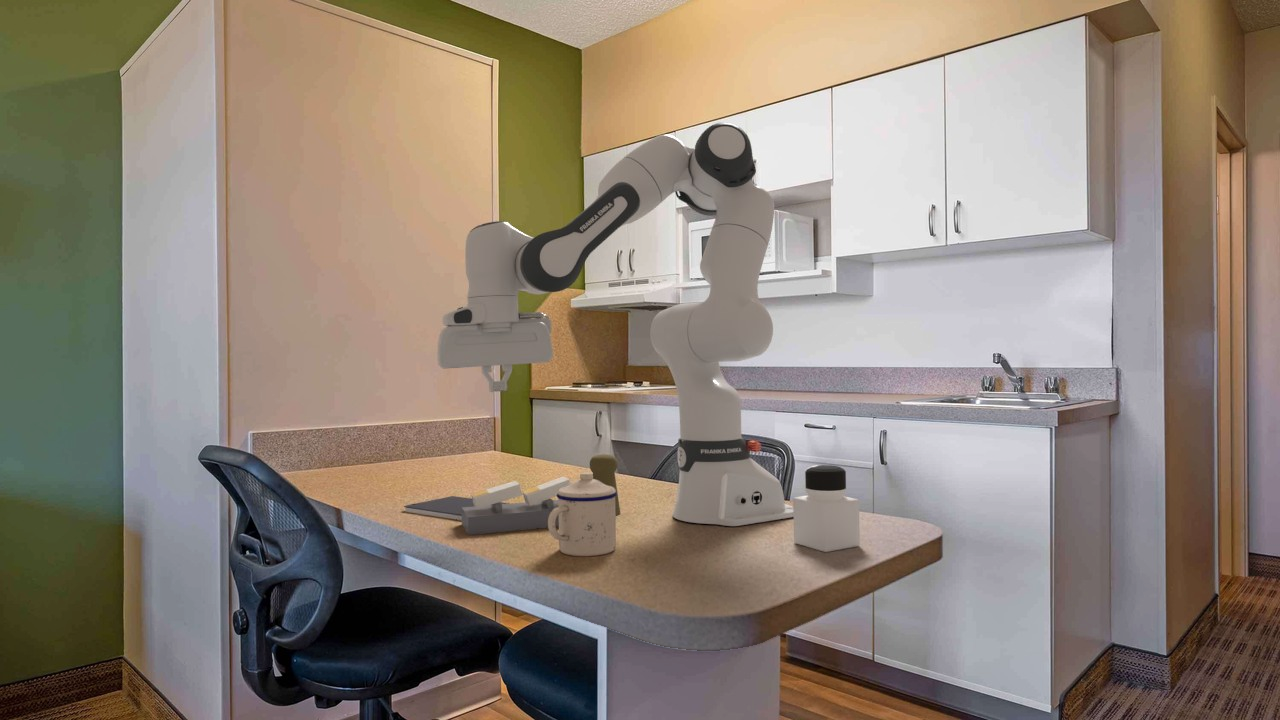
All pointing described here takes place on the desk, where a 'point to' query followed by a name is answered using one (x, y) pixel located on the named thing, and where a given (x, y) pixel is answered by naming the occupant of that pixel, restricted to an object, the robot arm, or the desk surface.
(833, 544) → the medicine bottle
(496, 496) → the rocker
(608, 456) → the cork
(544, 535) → the desk surface
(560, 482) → the rocker
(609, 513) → the teacup with lid
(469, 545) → the desk surface
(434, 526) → the desk surface
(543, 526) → the power strip
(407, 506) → the notebook
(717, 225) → the robot arm
